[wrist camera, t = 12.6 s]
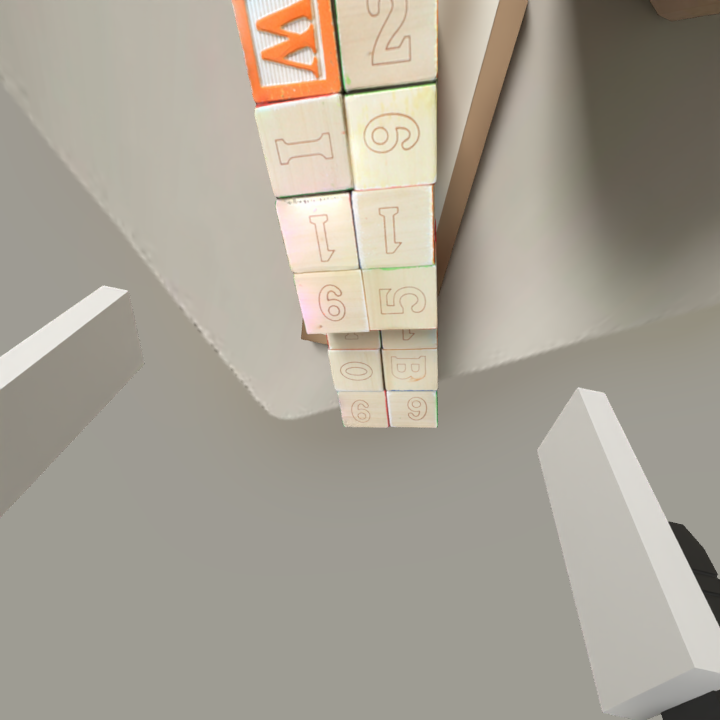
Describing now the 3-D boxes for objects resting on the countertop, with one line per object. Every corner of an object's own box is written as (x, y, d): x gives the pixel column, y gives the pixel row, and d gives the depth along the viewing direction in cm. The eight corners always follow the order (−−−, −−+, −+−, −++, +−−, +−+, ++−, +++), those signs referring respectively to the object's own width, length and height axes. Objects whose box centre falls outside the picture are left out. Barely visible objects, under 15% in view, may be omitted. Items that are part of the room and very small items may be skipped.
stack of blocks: (436, 347, 33) (438, 469, 23) (359, 348, 34) (331, 465, 24) (436, -4, 21) (441, -62, 11) (316, 15, 22) (221, -22, 12)
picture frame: (527, -17, 21) (535, -24, 20) (418, 349, 36) (417, 364, 34) (340, -52, 22) (333, -62, 20) (306, 326, 36) (300, 339, 34)
